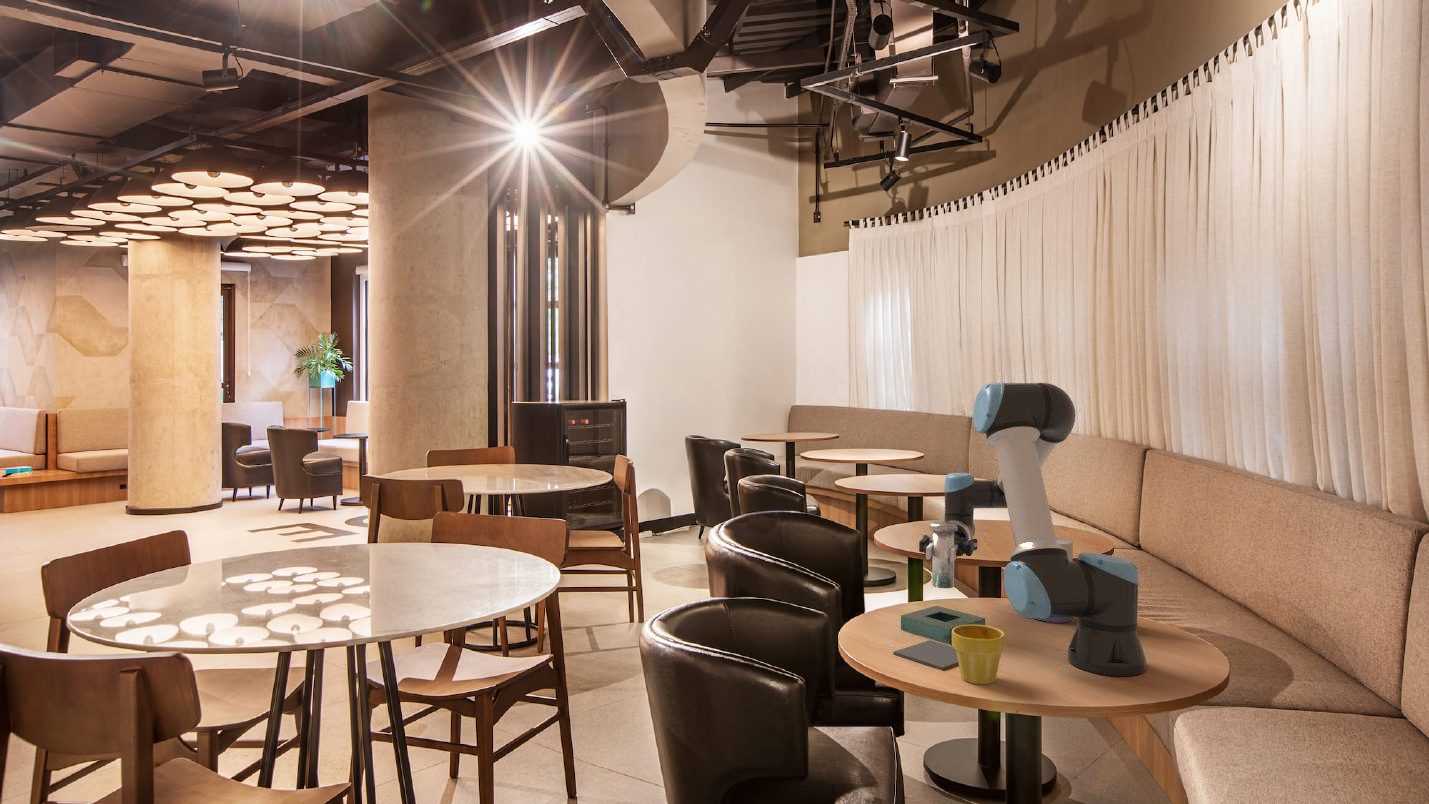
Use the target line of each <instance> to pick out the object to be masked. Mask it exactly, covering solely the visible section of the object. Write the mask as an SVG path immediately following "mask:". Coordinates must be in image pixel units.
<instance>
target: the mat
mask: <svg viewBox="0 0 1429 804" xmlns="http://www.w3.org/2000/svg"><path fill="white" fill-rule="evenodd" d="M892 652H893V653H892V654H893V655H895V656H898V657H900V658H904V659H907V660H909V661H913V662H915V663H919V664H922V665H925V666H928V667H931V668H933V669H937V670H940V671H944V670H947V669H950V668H953V667H956V666H959V663H958V659H957V654H956V650H955V649H954V648H953V646H952V645H949V644H946V643H945V644H944V643H943V642H939V641H936V640H933V639H929V640H926V641H922V642H920V643H916V644H913V645H910V646H907V647H904V648H900V649H898V650H895V651H892Z"/></svg>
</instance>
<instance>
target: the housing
mask: <svg viewBox="0 0 1429 804" xmlns="http://www.w3.org/2000/svg"><path fill="white" fill-rule="evenodd" d="M961 625H984V626H986V617H982V616H979V615H975V614H972V613H971V614H970V613H966V612H963V611H960V610H956V609H951V608H948V607H944V606H940V605H934V606H931V607H926V608H923V609H920V610H914V611H912V612H909V613H905V614H901V615H900V630H901V631H904V632H907V633H910V634H914V635H916V636H921V637H924V638H928V639H929V640H932V641H936V642H939V643H942V644H944V643H945V644H946V645H952V629H953V628H955V627H957V626H961Z"/></svg>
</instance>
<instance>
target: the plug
mask: <svg viewBox="0 0 1429 804" xmlns="http://www.w3.org/2000/svg"><path fill="white" fill-rule="evenodd" d="M929 530H930V531H932V538H933V556H932V562H931V563H932V564H931V565H932V571H931V574H932V579H931V580H932V581H931V582H932V583H931V584H932V585H931V586H933V587H934V588H938V589H952V588H954V586H955V561H954V562H953V561H951V549H952V548H953V546H954V532H956V531H957V524H956V523H953V522H944V521H939V520H937V521H931V522H929Z"/></svg>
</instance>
